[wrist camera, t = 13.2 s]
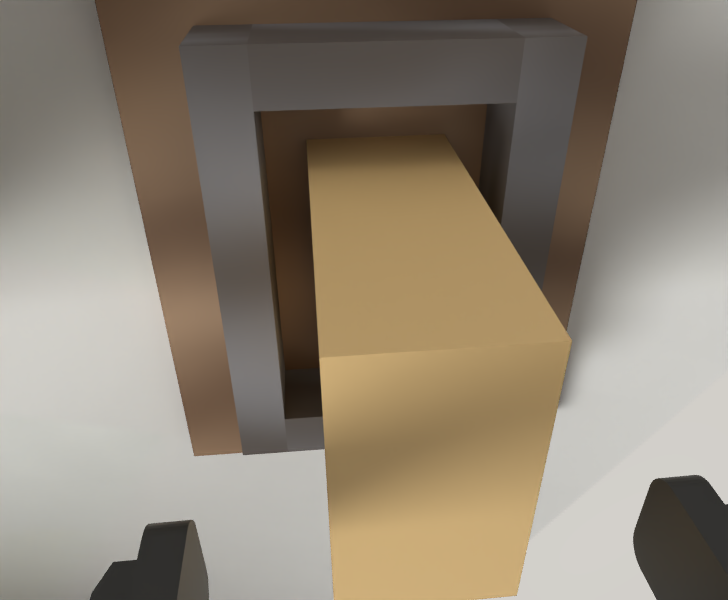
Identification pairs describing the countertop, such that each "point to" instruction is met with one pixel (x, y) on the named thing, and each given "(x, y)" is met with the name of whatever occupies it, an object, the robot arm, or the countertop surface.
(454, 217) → the key block
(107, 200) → the countertop surface
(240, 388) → the slot base
